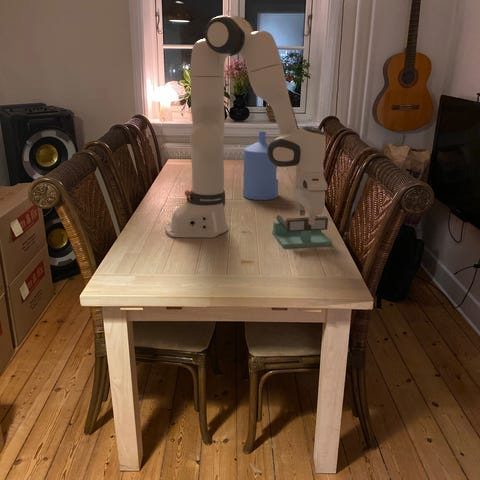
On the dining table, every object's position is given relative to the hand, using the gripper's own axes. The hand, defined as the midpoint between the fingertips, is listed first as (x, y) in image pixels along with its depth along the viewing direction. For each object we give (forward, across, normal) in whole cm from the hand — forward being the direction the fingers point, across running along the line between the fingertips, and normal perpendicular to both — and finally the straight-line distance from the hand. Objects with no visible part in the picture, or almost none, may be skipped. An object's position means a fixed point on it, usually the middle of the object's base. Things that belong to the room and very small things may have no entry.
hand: (306, 219), depth 168 cm
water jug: (+9, -59, -1) cm, 60 cm away
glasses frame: (+4, -5, 0) cm, 6 cm away
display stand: (+9, -4, 0) cm, 10 cm away
